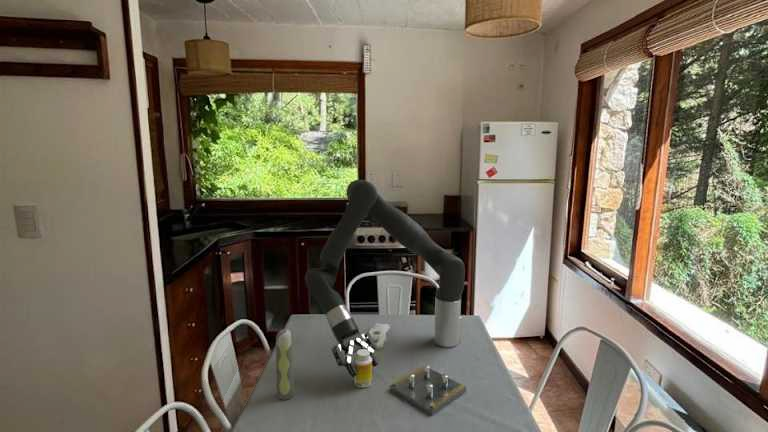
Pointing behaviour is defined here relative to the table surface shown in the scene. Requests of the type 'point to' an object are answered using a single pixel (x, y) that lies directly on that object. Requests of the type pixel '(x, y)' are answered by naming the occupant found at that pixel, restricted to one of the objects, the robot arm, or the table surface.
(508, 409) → the table surface
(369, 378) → the supplement bottle
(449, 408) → the table surface
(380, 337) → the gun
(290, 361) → the tall green-filled container
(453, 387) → the grey peg fixture plate
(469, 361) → the table surface
